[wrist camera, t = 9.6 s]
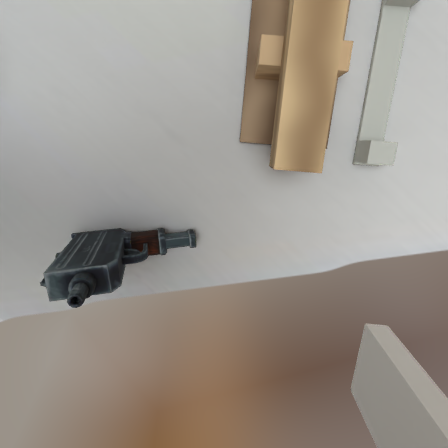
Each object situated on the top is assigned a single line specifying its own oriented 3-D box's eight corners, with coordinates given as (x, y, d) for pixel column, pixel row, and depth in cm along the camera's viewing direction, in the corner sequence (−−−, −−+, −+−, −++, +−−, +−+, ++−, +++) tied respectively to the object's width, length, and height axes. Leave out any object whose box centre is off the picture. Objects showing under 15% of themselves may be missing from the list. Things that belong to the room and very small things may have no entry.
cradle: (352, 163, 37) (366, 166, 33) (386, -23, 32) (406, -45, 28) (376, 165, 37) (392, 168, 33) (413, -21, 32) (437, -43, 28)
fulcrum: (239, 141, 37) (240, 141, 30) (253, -15, 33) (258, -60, 26) (324, 148, 37) (346, 150, 29) (348, -9, 33) (380, -52, 25)
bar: (269, 165, 30) (274, 169, 26) (297, -87, 25) (309, -129, 21) (310, 169, 30) (321, 173, 26) (347, -83, 25) (368, -125, 21)
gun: (215, 294, 27) (24, 325, 24) (191, 239, 43) (74, 253, 40) (213, 265, 26) (16, 293, 23) (189, 220, 42) (70, 233, 39)
